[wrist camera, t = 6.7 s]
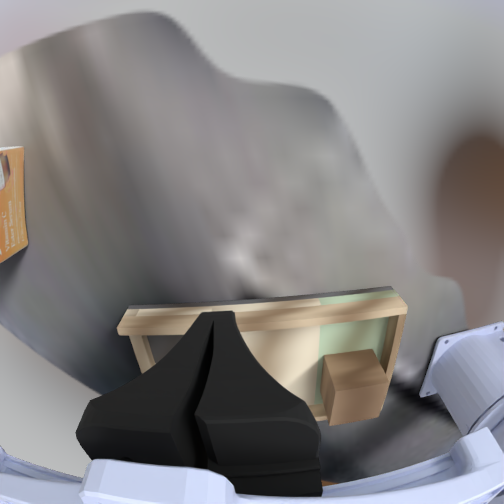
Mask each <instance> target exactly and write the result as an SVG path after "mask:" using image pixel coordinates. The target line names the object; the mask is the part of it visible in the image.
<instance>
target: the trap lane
mask: <svg viewBox="0 0 504 504" xmlns="http://www.w3.org/2000/svg"><path fill="white" fill-rule="evenodd" d="M407 308H408V306H407V305H406V304H405V302H404V301H403V300H402V299H401V298H400V296H399V295H398V294H397V293H396V292H395V290H394V289H393V288H392V287H391V286H388V287H379V288H370V289H361V290H352V291H342V292H332V293H322V294H311V295H300V296H288V297H276V298H263V299H249V300H234V301H217V302H199V303H179V304H154V305H130V306H129V307H128V309H127V311H126V313H125V314H124V316H123V318H122V320H121V321H120V323H119V325H118V327H117V330H118V333H119V335H129V337H130V340H131V343H132V346H133V349H134V352H135V355H136V358H137V361H138V364H139V366H140V369H141V372H142V374H143V373H144V372H145V371H147V370H148V369H150V368H151V367H152V366H154V365H155V364H156V363H157V362H158V361H160V360H161V359H162V358H163V357H164V356H165V355H166V354H167V353H168V352H169V351H170V350H171V349H172V348H173V347H174V346H175V345H176V344H177V342H178V341H179V340H180V339H181V338H182V337H183V335H184V334H185V333H186V332H187V330H188V329H189V328H190V327H191V325H192V324H193V323H194V321H195V320H196V318H197V317H198V316H199V314H200V313H201V312H212V311H230V310H232V311H233V312H235V318H236V323H237V326H238V329H239V331H240V333H241V335H242V337H243V339H244V341H245V343H246V345H247V346H248V348H249V350H250V351H251V353H252V354H253V356H254V357H255V358H256V360H257V361H258V362H259V363H260V365H261V366H262V367H263V368H264V369H265V370H266V371H267V372H268V373H269V374H270V375H271V376H272V377H273V378H274V379H275V380H276V381H277V382H278V383H279V384H281V385H282V386H283V387H284V388H286V389H287V390H288V391H290V392H291V393H293V394H294V395H296V396H297V397H299V398H301V399H302V400H304V401H305V402H306V404H307V405H308V407H309V409H310V410H311V412H312V414H313V416H314V418H315V420H316V421H322V420H328V419H327V415H326V411H325V408H324V404H323V400H322V396H321V393H320V385H321V376H322V367H323V358H324V355H327V354H336V353H344V352H351V351H358V350H365V349H373V351H374V353H375V355H376V357H377V358H378V360H379V362H380V364H381V366H382V368H383V370H384V372H385V374H386V376H387V378H388V380H389V382H390V380H391V376H392V373H393V369H394V365H395V361H396V358H397V354H398V349H399V345H400V341H401V337H402V332H403V328H404V323H405V318H406V313H407ZM389 384H390V383H389ZM388 387H389V386H388ZM387 390H388V389H387ZM386 394H387V393H386ZM385 397H386V396H385ZM384 400H385V399H384ZM383 404H384V402H383ZM382 407H383V405H382ZM381 410H382V408H381Z"/></svg>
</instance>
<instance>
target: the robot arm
mask: <svg viewBox="0 0 504 504" xmlns="http://www.w3.org/2000/svg"><path fill="white" fill-rule="evenodd" d="M503 328H504V322H503V321H500V322H496V323H493V324H489V325H486V326H482V327H478V328H475V329H471V330H467V331H463V332H459V333H455V334H451V335H447V336H443V337H440V338H439V339H438V340H437V342H436V346H435V349H434V352H433V355H432V358H431V361H430V364H429V367H428V370H427V373H426V376H425V379H424V382H423V384H422V387H421V390H420V392H419V395H420V397H425V396H429V395H432V394H436V393H438V394H439V395H440V397H441V399H442V400H443V402H444V404H445V405H446V407H447V409H448V410H449V412H450V414H451V416H452V417H453V419H454V421H455V422H456V424H457V426H458V428H459V429H460V431H461V433H462V435H463V437H462V438H460V439H459V440H458V441H456V443H455V444H454V445H453V447H452V448H451V450H450V452H449V453H446V454H444V455H441V456H438V457H436V458H433V459H430V460H427V461H424V462H421V463H418V464H415V465H412V466H409V467H406V468H402V469H399V470H396V471H392V472H389V473H385V474H381V475H377V476H373V477H369V478H365V479H360V480H356V481H351V482H346V483H341V484H336V485H330V486H324V487H322V482H321V477H320V472H319V470H320V463H319V459H318V455H319V449H320V443H321V433H320V429H319V427H318V424H317V422H316V420H315V418H314V416H313V414H312V412H311V410H310V409H309V407H308V405H307V404H306V402H305V401H304V400H302V399H301V398H299V397H297V396H296V395H294V394H293V393H291V392H290V391H288V390H287V389H286V388H284V387H283V386H282V385H281V384H279V383H278V382H277V381H276V380H275V379H274V378H273V377H272V376H271V375H270V374H269V373H268V372H267V371H266V370H265V369H264V368H263V367H262V366H261V365H260V363H259V362H258V361H257V360H256V358H255V357H254V356H253V354H252V353H251V351H250V350H249V348H248V346H247V345H246V343H245V341H244V339H243V337H242V335H241V333H240V331H239V329H238V326H237V323H236V318H235V312H233V311H232V310H230V311H212V312H201V313H200V314H199V316H198V317H197V318H196V320H195V321H194V323H193V324H192V325H191V327H190V328H189V329H188V330H187V332H186V333H185V334H184V335H183V337H182V338H181V339H180V340H179V341H178V342H177V344H176V345H175V346H174V347H173V348H172V349H171V350H170V351H169V352H168V353H167V354H166V355H165V356H164V357H163V358H162V359H161V360H160V361H158V362H157V363H156V364H155V365H154V366H152V367H151V368H150V369H148V370H147V371H145V372H144V373H143V374H141V375H140V376H138V377H137V378H135V379H134V380H132V381H130V382H129V383H127V384H125V385H123V386H121V387H120V388H118V389H116V390H114V391H112V392H109V393H107V394H104V395H102V396H100V397H97V398H95V399H92V400H90V402H89V403H88V405H87V407H86V409H85V411H84V414H83V416H82V419H81V421H80V423H79V426H78V428H77V430H76V437H77V439H78V441H79V443H80V445H81V446H82V448H83V449H84V450H85V452H86V453H87V455H88V456H89V457H90V458H91V460H92V461H91V462H90V463H89V464H88V466H87V469H86V471H85V474H84V478H80V477H76V476H72V475H69V474H65V473H61V472H58V471H54V470H51V469H48V468H45V467H41V466H38V465H35V464H32V463H30V462H27V461H24V460H21V459H18V458H16V457H13V456H11V455H8V454H6V452H5V451H4V449H3V448H2V447H1V446H0V504H504V331H503Z"/></svg>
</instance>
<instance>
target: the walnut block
mask: <svg viewBox="0 0 504 504" xmlns="http://www.w3.org/2000/svg"><path fill="white" fill-rule="evenodd" d="M389 383H390V382H389V380H388V378H387V376H386V374H385V372H384V370H383V368H382V366H381V364H380V362H379V360H378V358H377V357H376V355H375V353H374V351H373V349H365V350H358V351H351V352H344V353H336V354H327V355H324V358H323V367H322V376H321V385H320V393H321V396H322V400H323V404H324V408H325V411H326V415H327V419H328V423H329V426H332V425H338V424H345V423H350V422H356V421H361V420H367V419H372V418H376V417H379V414H380V411H381V408H382V405H383V402H384V399H385V396H386V393H387V389H388V386H389Z"/></svg>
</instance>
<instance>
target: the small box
mask: <svg viewBox="0 0 504 504" xmlns="http://www.w3.org/2000/svg"><path fill="white" fill-rule="evenodd" d="M27 245H28V239H27V232H26V223H25V210H24V147H22V146H17V147H0V263H2V262H3V261H5V260H6V259H8V258H9V257H11V256H12V255H14V254H15V253H17V252H18V251H20V250H21V249H23V248H24V247H26V246H27Z"/></svg>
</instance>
